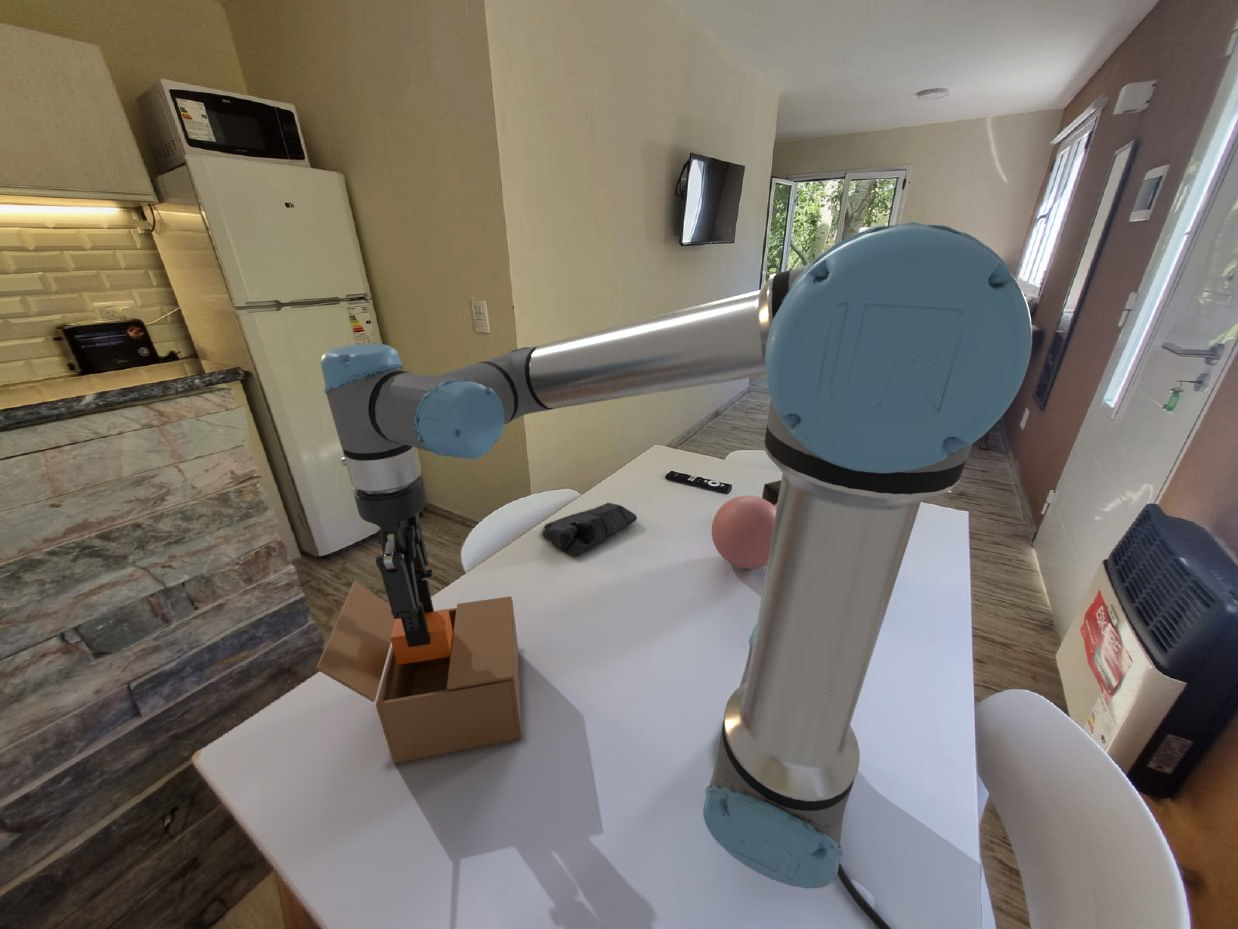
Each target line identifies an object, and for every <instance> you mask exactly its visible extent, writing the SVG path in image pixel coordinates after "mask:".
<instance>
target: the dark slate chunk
mask: <svg viewBox="0 0 1238 929" xmlns="http://www.w3.org/2000/svg"><path fill="white" fill-rule="evenodd" d="M637 519H638V516H637V514H635V513H634V512H632V511H631V510H630V509H627V508H626V507H625V506H623V505H621V504H617V503H612V502H606V503H604V504H602V505H599V506H598V507H597V506H596V507H595V508H591V509H588V510H585V511H580V512H577V513H573V514H570V515H566V516H564V517H562V518H561V517H560V518H558V519H556V520H554V521H550V522H548V523H546V524H545V525H544V527H543V529H544V530H542V532H541V533H542V536H543V538H544V539H545V540H548V541H549V542H550V543H551V544H552V545H553V547H555V548H556V549H558V550H559V551H561V552H567V554H570V555H572V556H573V557H575V556H576V557H579V556H581V555H583V553H585V552H587V551H588V550H591V549H593V548H595V547H598V545H601V544H603V543H605V542H606V541H607V540H608V539H609V538H612V537H613V536H615V535H617V534H618V533H619V532H621V531H623V530H625V529H626V528H627V527H628V526H630V525H631V524H633V523H635V522H636V521H637ZM575 539H579V540H580V541H581V542H583V543H586V544H580V543H579V542H578V541H576V540H575Z"/></svg>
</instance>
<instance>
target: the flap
mask: <svg viewBox="0 0 1238 929" xmlns="http://www.w3.org/2000/svg"><path fill="white" fill-rule="evenodd" d="M395 620H396V619H394V617H393V614H391V606H390V603H388V602H386V601H385V600H383V599H382V598H381V597H379V596H378V595H377V594H375V593H374V592H372V591H371V590H369V589H368V588H367V587H365V586H364V585H362V584H360V582H358V581H357V580H354V581H353V582H352V585H351V587H350V588H349V591H348V594H347V596H346V598H345V600H344V603H343V605H342V607H341V610H340V612H339V615H338V617H337V619H336V621H335V623H334V625H333V628H332V631H331V632H330V635H329V636H328V639H327V642H326V644H325V646H324V649H323V652H322V653H321V655H320V658H319V661H318V663H317V665H316V667H315V670H316V671H318V672H320V673H322V674H323V675H325V676H327V677H329V678H331V679H332V680H333V681H336V682H337V683H339V684H340V685H342V686H344V687H346V688H348V689H350V690H351V691H353V692H355V693H357V694H358V695H360V696H361V697H364V698H365V699H367V700H368V701H370V702H371V703H373V702H375V701H376V698H377V696H378V695H377V694H378V692H379V689H380V684H381V681H382V678H383V674H384V671H385V667H386V666H385V665H386V663H387V660H388V659H387V658H388V656H389V653H390V649H391V645H392V642H391V638H390V637H391V634H392V630H393V627H394V623H395Z"/></svg>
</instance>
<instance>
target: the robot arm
mask: <svg viewBox="0 0 1238 929" xmlns="http://www.w3.org/2000/svg"><path fill="white" fill-rule="evenodd" d="M1030 313H1031V312H1030V308H1029V305H1028V302H1027V298H1026V297H1025V294H1024V291H1023V290H1022V288H1021V286H1020V284H1019V282H1018V280H1017V279H1016V276H1015V275H1014V274H1013V273H1012V272H1011V270H1010V268H1009V266H1008V265H1007V264H1006V262H1005V261H1004V260H1003V259H1002V257H1000V256H999V255H998V253H996V252H995V251H994V250H993V249H992V248H991V247H990V246H987V245H986V244H984V243H983V242H982V241H981V240H979V239H978V238H976V237H974V236H972V235H970V234H968V233H966V232H963V231H959V230H957V229H955V228H952V227H950V226H947V225H941V224H923V223H919V222H914V221H912V222H907V223H903V224H893V225H884V226H883V225H878V226H876V227H872V228H869V229H866V230H863V231H860V232H857V233H856V234H854V235H852V236H850V237H847V238H844V239H842V240H841V241H838V242H837V243H835V244H834V245H832V246H830V247H829V248H828V249H827V250H825V251H824V252H822V253H821V254H820V255H819V256H817V257H816V258H815V259H814V260H813V261H812V262H810V263H808V264H805V265H802V266H798V267H795V268H792V269H788V270H785V271H780V272H778V273H773V274H771V275H770V277H769V278H768V280H767V281H766V283H765V284H764V285H763V287H762V288H761V289H757V290H755V291H750V292H747V293H743V294H739V295H734V296H730V297H727V298H723V299H719V300H715V301H710V302H707V303H703V304H699V305H695V306H690V307H686V308H683V309H678V310H674V311H670V312H666V313H663V314H659V315H655V316H651V317H646V318H643V319H639V320H635V321H631V322H627V323H622V324H619V325H614V326H610V327H606V328H602V329H598V330H594V331H591V332H587V333H583V334H580V335H576V336H571V337H567V338H562V339H559V340H555V341H551V342H547V343H543V344H541V345H536V346H525V347H524V346H523V347H521V348H517V349H514V350H511V351H508V352H507V353H504V354H501V355H498V356H495V357H491V358H489V359H486V360H483V361H477V362H476V363H472V364H468V365H465V366H461V367H459V368H455V369H451V370H448V371H445V372H442V373H439V374H424V373H423V374H422V373H413V372H409V371H405V370H403V363H402V360H401V359H400V355H399V352H398V351H397V349H395V348H394V347H392V346H390V345H389V344H383V343H362V344H360V343H359V344H350V345H345V346H339V347H335V348H332V349H330V350H328V351H326V352H324V354H323V355H322V356H321V358H320V368H321V373H322V376H323V381H324V389H323V390H324V393H325V394H326V398H327V400H328V405H329V409H330V412H331V415H332V419H333V423H334V426H335V429H336V433H337V437H338V440H339V443H340V444H339V445H340V447H341V449H342V452H343V457H342V458H341V460H340V463H341V465H342V466H346V468H347V472H348V475H349V479H350V483H351V486H352V487H353V490H352V491H353V492H352V493H353V497H354V501H355V504H356V508H357V511H358V514H359V515H358V516H359V517H360V518H361V519H362V520H364V521H365V522H367V523H371V524H372V525H376V526H377V527H379V529H377V540H378V544H379V545H380V546H381V550H382V554H379V555H378V554H377V555H376V557H375V563H376V566H377V568H378V570H379V572H380V574H381V578H382V581H383V584H384V589H385V592H386V595H387V599H388V602H389V603H388V604H389V605H390V606H391V614H393V617H394V619H400V618H401V620H402V624H403V628H404V632H405V636H406V640H407V644H408V647H414V646H421V645H428V644H430V636H429V631H428V626H427V621H426V617H425V613H429V612H434V611H435V609H434V604H433V600H432V595H431V590H430V586H429V581H428V579H429V578H433V569H427V567H428V566H429V560H428V555H427V551H426V550H427V549H426V544H425V540H424V535H423V534H424V533H423V528H422V524H421V519H420V513H421V512H422V511H423V510H424V509H425V508H426V505H427V494H426V488H425V483H424V479H423V477H422V476H421V474H422V471H423V470H422V466H421V461H420V460H421V459H420V455H419V451H418V449H419V450H422V451H426V452H430V453H432V454H435V455H438V456H443V457H446V458H447V457H451V458H461V459H466V460H470V459H471V460H472V459H473V460H474V459H479V458H481V457H485V455H488V454H489V453H490V452H491V451H492V450H493V448H494V445H495V443H496V442H499V440H500V439H501V436H502V434H503V431H504V428H505V425H507V424H509V423H510V422H513V421H514V420H516V419H519V418H521V417H523V416H525V415H529V414H534V413H539V412H545V411H546V412H547V411H551V410H557V409H561V408H569V407H575V406H580V405H587V404H594V403H600V402H606V401H612V400H613V401H614V400H619V399H625V398H632V397H637V396H638V397H639V396H644V395H650V394H657V393H665V392H669V391H676V390H683V389H690V388H696V387H702V386H708V385H715V384H721V383H726V382H734V381H739V380H746V379H752V378H759V377H765V381H766V386H767V391H768V394H769V397H770V399H769V400H770V401H769V408H768V415H767V423H766V429H765V430H766V431H765V435H764V445H763V447H764V452H765V454H766V455H767V457H768V458H769V459H770V460H771V461H772V462H773V463H774V465H775V466H776V467H777V469H779V471H781V472H782V474H781V479H780V480H781V486H780V492H779V497H778V503H777V509H776V515H775V521H774V527H773V533H772V538H771V544H770V550H769V556H768V562H767V565H766V568H765V574H764V579H763V586H762V593H761V598H760V604H759V610H758V614H757V621H756V622H755V624H754V626H753V629H752V633H751V634H750V636H749V638H748V644H749V648H748V654H747V659H746V663H745V667H744V671H743V674H742V677H741V679H740V680H741V681H740V683H739V687H738V688H736V689H735V690H734V691H733V693H732V694H731V695H730V696H729V698H728V700H727V702H726V705H725V708H724V714H723V720H722V725H721V733H720V739H719V745H718V752H717V755H716V756H717V757H716V761H715V764H714V768H713V772H712V775H711V779H710V782H709V785H707V786H706V788H705V791H704V792H705V797H704V798H705V799H704V802H703V807H702V815H703V821H704V823H705V826H706V829H707V830H708V832H709V834H710V835H711V836H712V838H713V839H714V840H715V841H716V843H717V844H718V845H720V847H722V849H724V850H725V852H727V853H728V854H729V855H730V856H731V857H732V858H734V859H736V860H737V861H738V862H740V863H741V864H743V866H746V867H747V868H748V869H751V870H752V871H754V872H756V873H758V874H760V875H762V876H764V877H765V878H768V879H770V880H773V881H775V882H778V883H781V884H784V885H787V886H790V887H795V888H800V889H801V888H802V889H806V890H807V889H808V890H811V889H812V890H814V889H821V888H825V887H827V886H829V885H831V884H832V883H833V882H834V881H835V879H837V877H838V878H839V880H840V882H841V883H842V885H843V886H844V888H845V889H846V891H847V892H848V893H849V895H850V897H852V899H853V900H854V902H856V904H857V905H858V906H859V908H860V909H861V910H862V911H863V912H864V913H865V914H866V916H868V918H869V919H870V920H871V921H872V922H873V923H874V924H875V925H876V926H877V928H878V929H892V928H891V927H890V926H889V925H888V924H887V922H886V921H885V920H884V919H883V918H882V917H881V916H880V915H879V914H878V913H877V911H876V910H875V909H874V908H873V907H872V906H871V905H870V904H869V903H868V902H867V900H865V898H864V897H863V896H862V895H861V893H860V892H859V891H858V889H857V887H855V886H854V884H853V883H852V881H851V880H850V877H848V875H847V874H846V872H845V870H844V868H843V866H842V864H841V862H840V861H841V860H840V859H841V858H842V857H843V853H844V852H843V851H844V850H843V849H842V846H841V838H842V827H843V822H844V814H845V810H846V806H847V803H848V801H849V798H850V795H851V792H852V789H853V786H854V783H855V780H856V777H857V774H858V771H859V767H860V761H861V760H860V759H861V758H860V747H859V743H858V739H857V737H856V734H855V732H854V729H853V727H852V726H851V723H852V720H853V717H854V714H855V711H856V708H857V704H858V701H859V697H860V695H861V691H862V689H863V685H864V682H865V679H866V675H867V674H868V673H867V672H868V670H869V667H870V664H871V659H872V657H873V654H874V650H875V649H876V645H877V641H878V638H879V636H880V632H881V629H882V626H883V623H884V619H885V616H886V613H887V611H888V607H889V604H890V601H891V597H892V594H893V592H894V588H895V584H896V582H897V579H898V575H899V572H900V569H901V566H902V563H903V560H904V557H905V554H906V551H907V547H908V544H909V541H910V538H911V536H912V531H913V528H914V526H915V522H916V519H917V516H918V512H919V510H920V507H921V503H922V502H924V501H928V500H930V499H933V498H935V497H938V496H941V495H943V494H946V493H948V492H950V491H952V490H953V489H955V488H956V487H957V485H958V484H959V482H960V480H961V477H962V474H963V472H964V469H965V466H966V464H967V460H968V458H969V456H970V452H971V451H972V447H973V444H974V443H975V442H977V441H978V440H979V439H980V438H982V437H983V436H984V435H986V434H987V433H988V431H989V430H991V428H993V426H994V425H996V424H997V422H999V420H1000V419H1001V418H1002V417H1003V416H1004V414H1005V413H1006V412H1007V410H1008V409H1009V407H1010V406H1011V405H1012V403H1013V401H1014V400H1015V398H1016V396H1017V394H1018V393H1019V391H1020V388H1021V387H1022V384H1023V382H1024V379H1025V376H1026V374H1027V370H1028V367H1029V363H1030V359H1031V354H1032V345H1033V326H1032V318H1031V314H1030Z"/></svg>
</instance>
